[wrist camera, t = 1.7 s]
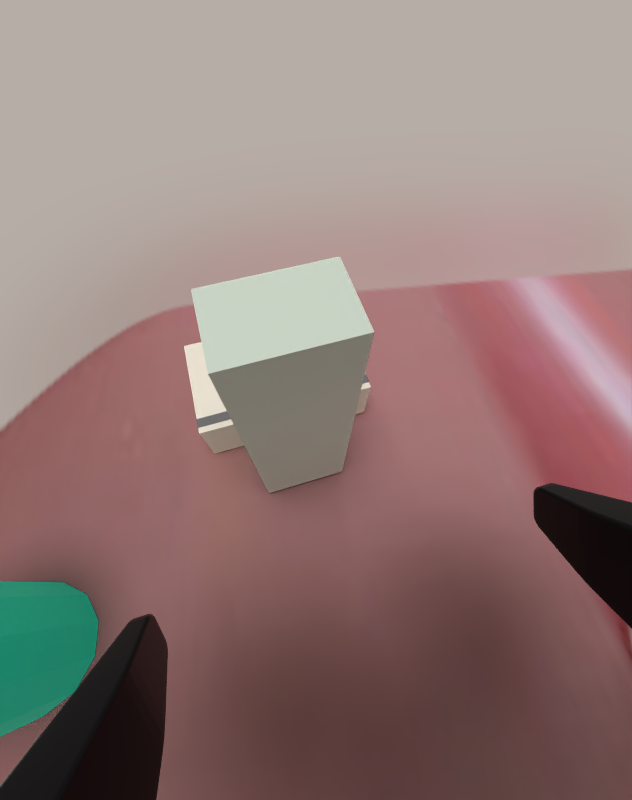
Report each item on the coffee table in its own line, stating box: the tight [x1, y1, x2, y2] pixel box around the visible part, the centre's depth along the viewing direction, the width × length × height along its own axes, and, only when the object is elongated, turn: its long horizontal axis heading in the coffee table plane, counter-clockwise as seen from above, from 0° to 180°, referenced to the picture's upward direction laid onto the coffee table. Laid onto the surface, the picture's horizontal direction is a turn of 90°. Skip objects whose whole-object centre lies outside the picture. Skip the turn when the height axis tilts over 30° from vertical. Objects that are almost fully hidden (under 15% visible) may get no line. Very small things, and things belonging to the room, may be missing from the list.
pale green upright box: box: [191, 256, 374, 493], centre depth 17 cm, size 3×5×14 cm, turn 107°
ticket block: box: [184, 342, 371, 454], centre depth 24 cm, size 6×10×4 cm, turn 107°
